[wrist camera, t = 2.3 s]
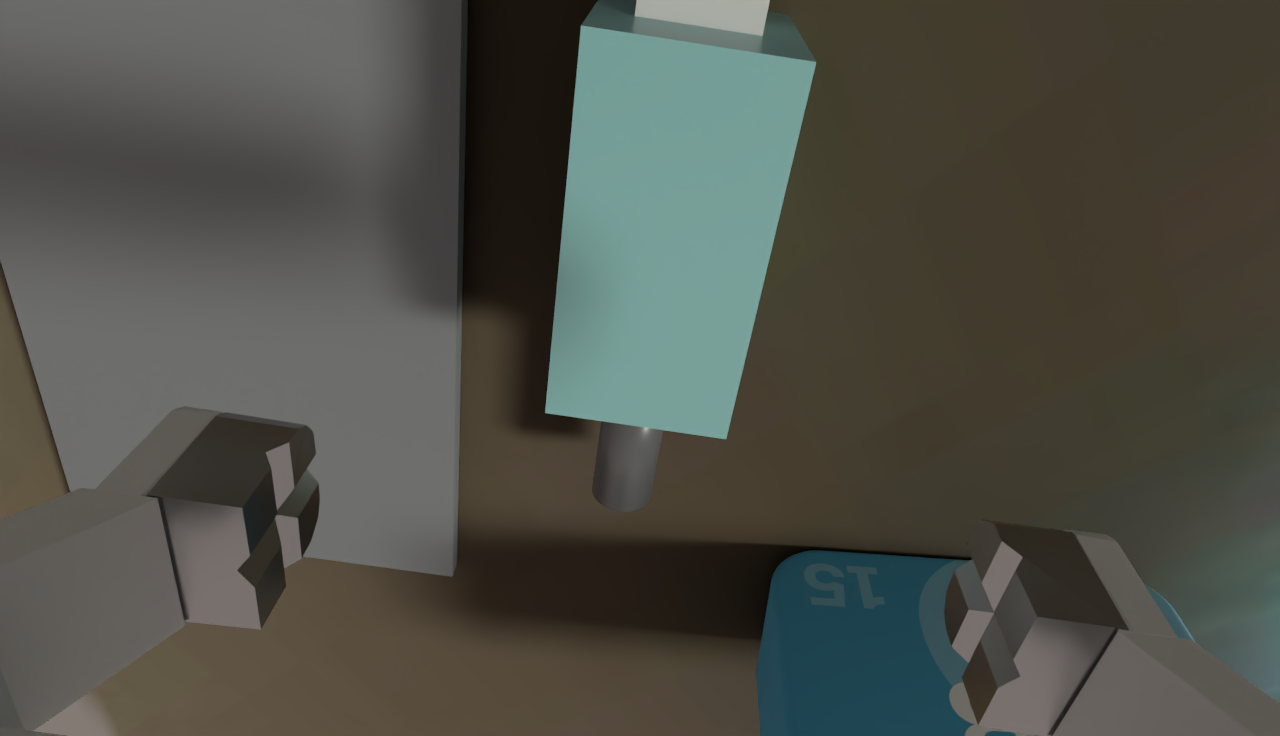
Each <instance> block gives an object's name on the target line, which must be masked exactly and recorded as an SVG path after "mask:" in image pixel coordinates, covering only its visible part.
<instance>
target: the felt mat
mask: <svg viewBox="0 0 1280 736" xmlns="http://www.w3.org/2000/svg"><path fill="white" fill-rule="evenodd" d="M467 25H468V0H0V261H1V264H2V268H3V271H4V274H5V277H6V281H7V284H8V287H9V291H10V294H11V297H12V301H13V304H14V307H15V311H16V314H17V317H18V321H19V324H20V327H21V330H22V334H23V337H24V340H25V344H26V347H27V350H28V354H29V357H30V360H31V364H32V367H33V370H34V374H35V377H36V380H37V383H38V387H39V390H40V393H41V397H42V400H43V403H44V407H45V410H46V413H47V417H48V420H49V423H50V427H51V430H52V433H53V436H54V440H55V443H56V446H57V450H58V453H59V456H60V460H61V463H62V466H63V470H64V473H65V476H66V480H67V483H68V486H69V489H70V492H72V491H74V490H77V489H79V488H87V489H96V488H97V487H98V486H99V485H100V484H101V482H102V481H103V480H104V479H105V478H106V477H107V476H108V475H109V474H110V473H111V472H112V471H113V470H114V469H115V468H116V467H117V466H118V465H119V464H120V463H121V462H122V461H123V460H124V459H125V458H126V457H127V456H128V455H129V454H130V453H131V452H132V451H133V450H134V449H135V448H136V447H137V446H138V445H139V444H140V443H141V441H142V440H143V439H144V438H145V437H146V436H147V435H148V434H149V433H150V432H151V431H152V430H153V429H154V428H155V427H156V426H157V425H158V424H159V423H160V422H161V421H162V420H163V419H164V418H165V417H166V416H167V415H168V414H169V413H170V412H171V411H172V410H173V409H177V408H180V407H184V406H187V407H193V408H200V409H207V410H213V411H220V412H223V413H225V412H229V413H235V414H241V415H247V416H253V417H260V418H266V419H272V420H278V421H284V422H291V423H297V424H303V425H307V426H308V427H309V428H310V429H311V430H312V431H313V433H314V441H315V448H316V455H315V456H314V458H313V460H312V461H311V463H310V464H309V466H308V468H307V470H308V471H309V472H310V473H311V474H312V476H313V477H314V478H315V479H316V480H317V481H318V483H319V493H320V504H319V515H318V520H317V523H316V527H315V530H314V533H313V537H312V540H311V542H310V544H309V546H308V548H307V550H306V551H305V553H304V555H303V556H304V557H311V558H318V559H326V560H333V561H340V562H348V563H355V564H362V565H370V566H377V567H385V568H392V569H399V570H407V571H414V572H421V573H429V574H436V575H443V576H451V577H453V574H454V571H455V568H456V565H457V538H458V487H459V435H460V384H461V333H462V281H463V230H464V179H465V127H466V76H467Z"/></svg>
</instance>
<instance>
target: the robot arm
mask: <svg viewBox="0 0 1280 736" xmlns="http://www.w3.org/2000/svg"><path fill="white" fill-rule="evenodd" d="M315 455H316V448H315V441H314V433H313V431H312V430H311V429H310V428H309V427H308V426H307V425H303V424H297V423H291V422H284V421H278V420H272V419H266V418H260V417H253V416H247V415H241V414H235V413H229V412H225V413H223V412H220V411H213V410H207V409H200V408H193V407H187V406H184V407H180V408H177V409H173V410H172V411H171V412H170V413H169V414H168V415H167V416H166V417H165V418H164V419H163V420H162V421H161V422H160V423H159V424H158V425H157V426H156V427H155V428H154V429H153V430H152V431H151V432H150V433H149V434H148V435H147V436H146V437H145V438H144V439H143V440H142V441H141V443H140V444H139V445H138V446H137V447H136V448H135V449H134V450H133V451H132V452H131V453H130V454H129V455H128V456H127V457H126V458H125V459H124V460H123V461H122V462H121V463H120V464H119V465H118V466H117V467H116V468H115V469H114V470H113V471H112V472H111V473H110V474H109V475H108V476H107V477H106V478H105V479H104V480H103V481H102V482H101V484H100V485H99V486H98V487H97V488H96V489H87V488H79V489H77V490H74V491H72V492H69V493H67V494H64V495H62V496H59V497H57V498H54V499H52V500H49V501H46V502H44V503H41V504H39V505H36V506H34V507H31V508H29V509H26V510H24V511H21V512H19V513H16V514H14V515H11V516H9V517H6V518H4V519H1V520H0V736H65V735H58V734H49V733H42V732H35V731H34V730H35V729H36V728H38V727H39V726H41V725H42V724H44V723H45V722H46V721H48V720H49V719H51V718H52V717H54V716H55V715H56V714H58V713H59V712H61V711H63V710H64V709H65V708H67V707H68V706H70V705H71V704H73V703H74V702H76V701H77V700H78V699H80V698H81V697H83V696H84V695H86V694H87V693H88V692H90V691H91V690H93V689H94V688H96V687H97V686H99V685H100V684H101V683H103V682H104V681H106V680H107V679H109V678H110V677H112V676H113V675H114V674H116V673H117V672H119V671H120V670H122V669H123V668H125V667H126V666H127V665H129V664H130V663H132V662H133V661H135V660H136V659H138V658H139V657H140V656H142V655H143V654H145V653H146V652H148V651H149V650H151V649H152V648H153V647H155V646H156V645H158V644H159V643H161V642H162V641H164V640H165V639H166V638H168V637H169V636H171V635H172V634H174V633H175V632H177V631H178V630H179V629H181V628H182V627H184V626H185V621H186V622H195V623H204V624H214V625H223V626H233V627H242V628H252V629H261V628H262V627H263V625H264V623H265V621H266V620H267V618H268V616H269V615H270V613H271V611H272V609H273V608H274V606H275V604H276V602H277V601H278V599H279V597H280V596H281V594H282V592H283V590H284V589H285V587H286V582H285V573H284V568H286V567H287V566H289V565H291V564H293V563H294V562H296V561H298V560H300V559H301V558H302V557H303V555H304V553H305V551H306V550H307V548H308V546H309V544H310V542H311V540H312V537H313V533H314V530H315V527H316V523H317V520H318V515H319V504H320V493H319V483H318V481H317V480H316V479H315V478H314V477H313V476H312V474H311V473H310V472H309V471H308V470H307V468H308V466H309V464H310V463H311V461H312V460H313V458H314V456H315ZM967 546H968V549H969V552H970V554H971V557H972V560H970V561H968V562H967V563H965V564H964V565H962V566H961V567H959V568H958V569H956V570H954V573H953V575H952V578H951V580H950V583H949V585H948V588H947V590H946V599H945V608H944V616H945V624H946V631H947V634H948V637H949V640H950V644H951V647H952V648H953V649H954V650H955V651H956V652H958V653H959V654H960V655H961V656H962V657H963V658H964V659H965V660H966V661H967V662H968V665H967V667H966V669H965V671H964V674H963V676H962V680H963V683H964V686H965V689H966V692H967V695H968V698H969V701H970V704H971V707H972V710H973V712H974V715H975V718H976V721H977V724H978V726H983V727H989V728H995V729H1001V730H1007V731H1014V732H1020V733H1026V734H1032V735H1038V736H1280V704H1279V703H1278V702H1276V701H1275V700H1273V699H1272V698H1271V697H1269V696H1268V695H1267V694H1265V693H1264V692H1262V691H1261V690H1260V689H1258V688H1257V687H1256V686H1254V685H1253V684H1251V683H1250V682H1249V681H1247V680H1246V679H1245V678H1243V677H1242V676H1240V675H1239V674H1238V673H1236V672H1235V671H1234V670H1232V669H1231V668H1229V667H1228V666H1227V665H1225V664H1224V663H1223V662H1221V661H1220V660H1218V659H1217V658H1216V657H1214V656H1213V655H1212V654H1210V653H1209V652H1207V651H1206V650H1205V649H1203V648H1202V647H1201V646H1199V645H1198V644H1196V643H1195V642H1194V641H1192V640H1190V639H1183V638H1178V637H1177V636H1176V634H1175V632H1174V631H1173V629H1172V628H1171V626H1170V625H1169V623H1168V621H1167V620H1166V618H1165V617H1164V615H1163V613H1162V612H1161V610H1160V609H1159V607H1158V606H1157V604H1156V602H1155V601H1154V599H1153V598H1152V596H1151V595H1150V593H1149V591H1148V590H1147V588H1146V587H1145V585H1144V584H1143V582H1142V580H1141V579H1140V577H1139V576H1138V574H1137V573H1136V571H1135V569H1134V568H1133V566H1132V565H1131V563H1130V562H1129V560H1128V558H1127V557H1126V555H1125V554H1124V552H1123V551H1122V549H1121V547H1120V546H1119V544H1118V543H1117V542H1116V541H1115V540H1114V539H1113V538H1111V537H1110V536H1108V535H1107V534H1101V533H1092V532H1083V531H1075V530H1066V529H1065V530H1063V531H1062V530H1056V529H1048V528H1041V527H1034V526H1026V525H1019V524H1011V523H1004V522H996V521H989V520H981V522H980V523H979V524H978V525H977V526H976V527H975V528H974V529H973V531H972V533H971V535H970V537H969V539H968V542H967Z"/></svg>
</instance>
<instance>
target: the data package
mask: <svg viewBox="0 0 1280 736" xmlns="http://www.w3.org/2000/svg"><path fill="white" fill-rule="evenodd" d="M968 561H970V560H956V559H941V558H926V557H911V556H897V555H882V554H867V553H852V552H837V551H823V550H813V551H805V552H800V553H797V554H794V555H792V556H790V557H788V558H787V559H785V560H784V561H783V562H782V563H781V564H780V565H779V566H778V567H777V568H776V570H775V572H774V574H773V576H772V580H771V586H770V592H769V598H768V604H767V610H766V615H765V621H764V627H763V633H762V639H761V645H760V651H759V657H758V663H757V669H756V680H757V694H758V707H759V721H760V734H761V736H1038V735H1032V734H1026V733H1020V732H1014V731H1007V730H1001V729H995V728H989V727H983V726H978V724H977V721H976V718H975V715H974V712H973V710H972V707H971V704H970V701H969V698H968V695H967V692H966V689H965V686H964V683H963V680H962V676H963V674H964V671H965V669H966V667H967V665H968V662H967V661H966V660H965V659H964V658H963V657H962V656H961V655H960V654H959V653H958V652H956V651H955V650H954V649H953V648H952V647H951V644H950V640H949V637H948V634H947V631H946V624H945V616H944V608H945V599H946V590H947V588H948V585H949V583H950V580H951V578H952V575H953V573H954V570H956V569H958V568H959V567H961V566H962V565H964V564H965V563H967V562H968ZM1143 584H1144V583H1143ZM1144 585H1145V584H1144ZM1145 587H1146V588H1147V590H1148V591H1149V593H1150V595H1151V596H1152V598H1153V599H1154V601H1155V602H1156V604H1157V606H1158V607H1159V609H1160V610H1161V612H1162V613H1163V615H1164V617H1165V618H1166V620H1167V621H1168V623H1169V625H1170V626H1171V628H1172V629H1173V631H1174V632H1175V634H1176V636H1177V637H1178V638H1183V639H1190V640H1192V641H1194V639H1193V638H1192V636H1191V635H1190V633H1189V631H1188V630H1187V628H1186V627H1185V625H1184V624H1183V622H1182V620H1181V619H1180V617H1179V616H1178V614H1177V613H1176V611H1175V610H1174V608H1173V607H1172V606H1171V605H1170V604H1169V603H1168V602H1167V601H1166V600H1165V599H1164V598H1163V597H1162V596H1161V595H1160V594H1159V593H1157V592H1156V591H1155V590H1153V589H1152V588H1150V587H1149V586H1147V585H1145ZM1194 642H1195V641H1194ZM1195 643H1196V642H1195Z"/></svg>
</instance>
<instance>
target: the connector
mask: <svg viewBox="0 0 1280 736" xmlns="http://www.w3.org/2000/svg"><path fill="white" fill-rule="evenodd" d="M769 2H770V0H598V1H597V2H596V4H595V5H594V7H593V8H592V10H591V11H590V13H589V14H588V16H587V17H586V19H585V20H584V22H583V23H582V25H581V31H580V42H579V53H578V63H577V74H576V85H575V96H574V106H573V117H572V128H571V139H570V150H569V160H568V171H567V182H566V193H565V203H564V214H563V225H562V236H561V246H560V257H559V268H558V279H557V290H556V300H555V311H554V322H553V333H552V343H551V354H550V365H549V376H548V387H547V397H546V408H545V413H549V414H555V415H562V416H569V417H576V418H583V419H590V420H597V421H601V428H600V435H599V442H598V450H597V457H596V464H595V471H594V479H593V486H592V492H593V495H594V497H595V498H596V500H597V501H598V502H599V503H601V504H602V505H604V506H605V507H607V508H610V509H613V510H617V511H635V510H638V509H641V508H642V507H644V506H645V505H647V504H648V502H649V501H650V498H651V494H652V488H653V483H654V478H655V472H656V467H657V462H658V456H659V451H660V446H661V440H662V435H663V430H666V431H673V432H680V433H687V434H694V435H701V436H707V437H714V438H721V439H726V438H727V434H728V429H729V425H730V421H731V417H732V413H733V409H734V404H735V400H736V396H737V392H738V388H739V383H740V379H741V375H742V371H743V367H744V362H745V358H746V354H747V350H748V346H749V342H750V337H751V333H752V329H753V325H754V321H755V316H756V312H757V308H758V304H759V300H760V296H761V291H762V287H763V283H764V279H765V275H766V270H767V266H768V262H769V258H770V254H771V250H772V245H773V241H774V237H775V233H776V229H777V224H778V220H779V216H780V212H781V208H782V204H783V199H784V195H785V191H786V187H787V183H788V178H789V174H790V170H791V166H792V162H793V158H794V153H795V149H796V145H797V141H798V137H799V132H800V128H801V124H802V120H803V116H804V111H805V107H806V103H807V99H808V95H809V91H810V86H811V82H812V78H813V74H814V70H815V65H816V61H815V59H814V57H813V56H812V54H811V52H810V50H809V49H808V47H807V45H806V43H805V42H804V40H803V38H802V37H801V35H800V33H799V31H798V30H797V28H796V26H795V25H794V23H793V21H792V19H791V18H790V16H789V14H783V13H776V12H770V11H768V7H769Z"/></svg>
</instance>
